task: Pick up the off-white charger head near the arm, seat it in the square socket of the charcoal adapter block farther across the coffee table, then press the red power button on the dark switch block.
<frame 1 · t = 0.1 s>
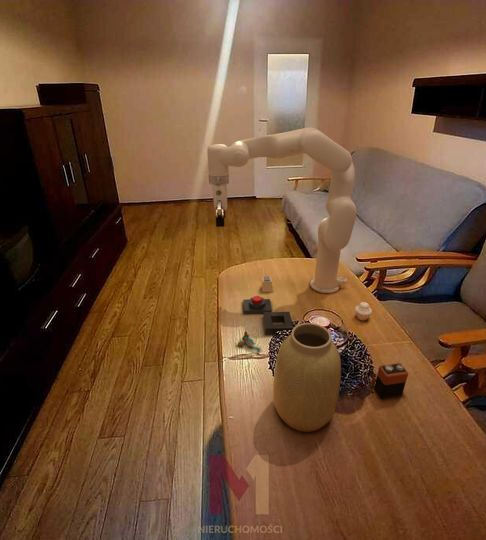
hand: (220, 221, 140), 31 cm above the table, tool pointing down, fingers open, 9 cm apart
vase: (303, 411, 97), on the table
dragon figurine: (249, 347, 121), on the table
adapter: (277, 326, 130), on the table
battery: (387, 392, 102), on the table
cream rounded piece: (361, 318, 134), on the table
charger: (266, 289, 153), on the table
switch block: (257, 308, 141), on the table
power button: (257, 300, 139), point 4 cm above the table, slide at 0.1 cm
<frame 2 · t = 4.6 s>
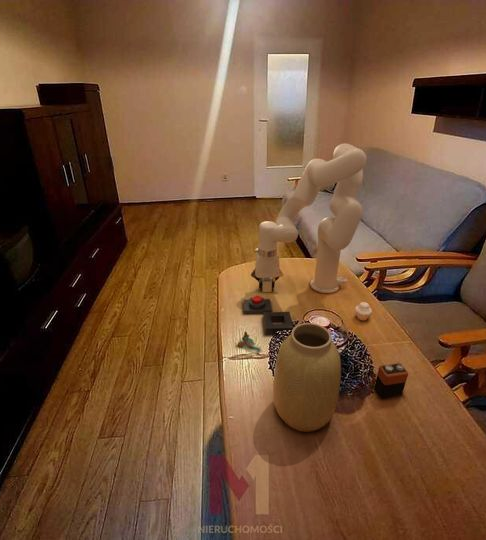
hand: (266, 288, 153), 1 cm above the table, tool pointing down, fingers closed on charger, 4 cm apart
charger: (266, 289, 153), on the table, touching gripper
everything else where it was.
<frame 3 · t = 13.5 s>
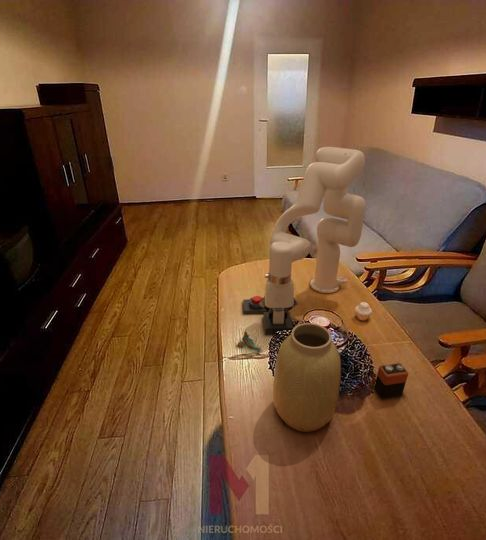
hand: (277, 319, 129), 3 cm above the table, tool pointing down, fingers closed on charger, 4 cm apart
charger: (277, 320, 129), point 3 cm above the table, touching gripper
everything else where it was.
when the fingers open (4 cm above the table, at t = 16.4 s): charger drops 3 cm, resting in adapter.
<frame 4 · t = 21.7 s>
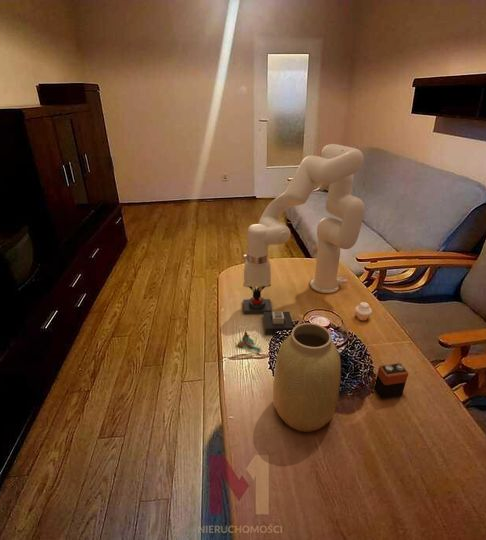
hand: (256, 298, 138), 5 cm above the table, tool pointing down, fingers closed
charger: (277, 326, 130), resting in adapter
power button: (257, 300, 139), point 4 cm above the table, slide at -0.1 cm, touching gripper
everything else where it was.
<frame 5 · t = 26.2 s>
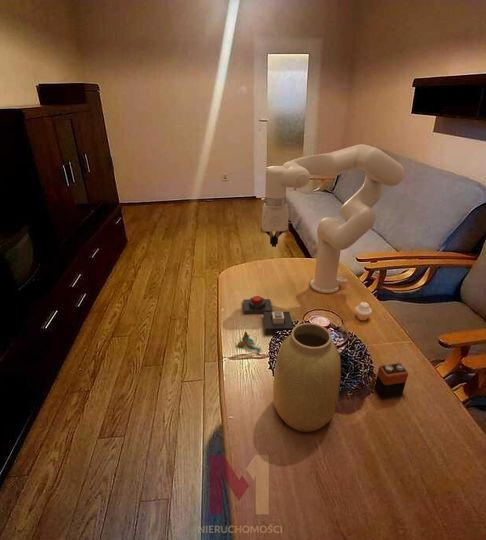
hand: (273, 245, 138), 23 cm above the table, tool pointing down, fingers closed
power button: (257, 299, 139), point 4 cm above the table, slide at 0.1 cm
everything else where it was.
at the end: charger 0.0 cm off-centre in the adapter, point 0.0 cm above the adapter's base; power button pushed in 1.1 cm at the most during the clip, back to where it started at the end; power button slide at 0.1 cm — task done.
